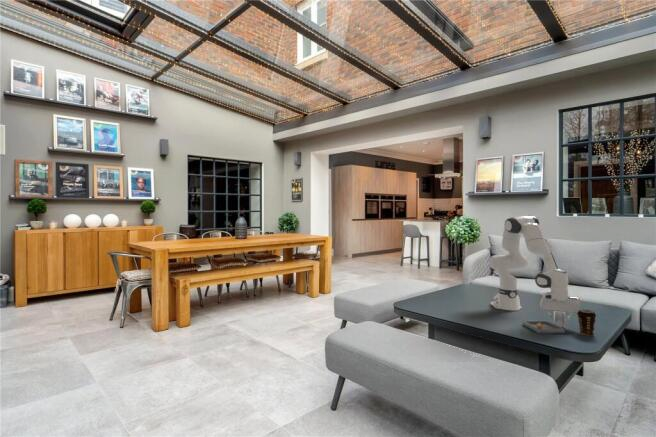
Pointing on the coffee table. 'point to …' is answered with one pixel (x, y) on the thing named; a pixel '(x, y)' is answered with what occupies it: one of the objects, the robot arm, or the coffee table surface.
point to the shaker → (559, 319)
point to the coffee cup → (586, 321)
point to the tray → (544, 327)
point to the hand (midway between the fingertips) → (559, 318)
